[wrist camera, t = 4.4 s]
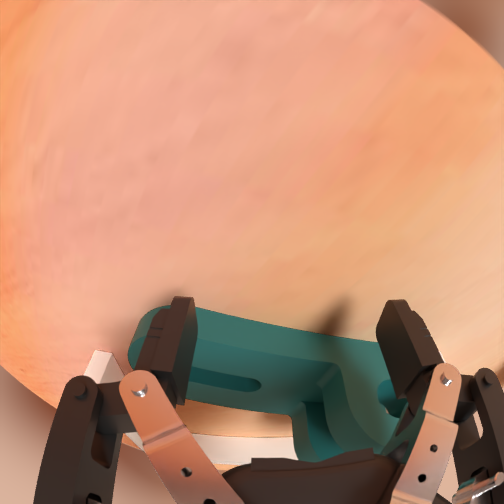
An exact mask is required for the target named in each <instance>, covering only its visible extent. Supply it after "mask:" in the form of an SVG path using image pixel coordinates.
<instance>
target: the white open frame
mask: <svg viewBox="0 0 504 504" xmlns="http://www.w3.org/2000/svg"><path fill="white" fill-rule="evenodd" d="M439 353H440V355H441V357H442V359H443V361H444V363H446V362H445V360H444V358H443V356H442V354H441V352H440V351H439ZM84 376H88V377H90V378H92V379H93V380H94V381H95V382H96V384H100V383H111V382H118V381H121V380H122V379H123V377H124V374H123V372H122V371H121V369H120V367H119V365H118V363H117V362H116V360H115V358H114V356H113V354H112V353H109V352H103V351H98V350H95V351H94V354H93V356H92V358H91V360H90V362H89V364H88V367H87V369H86V371H85V374H84ZM386 412H387V413H388V411H387V409H386ZM388 414H389V413H388ZM125 434H126V435H127V436H128V437H129V438H130V439H131V440H132V441H133V442H134V443H135V444H136V445H137V446H138V447H139V448H140V449H141V450H142V451H143V452H145V450H144V448H143V445H142V444H143V442H142V440H141V438H140V436H139V434H138V432H131V433H125ZM191 434H192V436H193V437H194V439H195V440H196V442H197V443H198V444H199V446H200V447H201V449H202V450H203V451H204V453H205V454H206V456H207V457H208V458H209V460H210V461H211V462H212V463H216V464H230V465H244V464H249V463H251V458H288V459H294V460H298V458H297V456H296V453H295V450H294V444H293V437H273V438H256V437H228V436H214V435H203V434H194V433H191ZM145 453H146V452H145Z"/></svg>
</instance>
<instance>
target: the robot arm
mask: <svg viewBox="0 0 504 504" xmlns="http://www.w3.org/2000/svg"><path fill="white" fill-rule="evenodd" d="M430 335H431V334H430V332H429V331H428V329H427V327H426V325H425V323H424V321H423V319H422V318H421V317H420V316H419V315H418V314H417V313H416V312H415V311H411V309H410V307H409V305H408V303H407V302H406V301H405V300H388V301H387V302H386V304H385V307H384V309H383V312H382V314H381V317H380V319H379V321H378V324H377V327H376V338H377V341H378V344H379V347H380V349H381V352H382V355H383V358H384V361H385V364H386V367H387V370H388V373H389V376H390V379H391V382H392V385H393V388H394V391H395V395H396V398H397V399H402V398H407V401H408V402H407V403H406V405H405V407H404V409H403V411H402V414H401V416H400V419H399V421H398V423H397V426H396V428H395V430H394V432H393V434H392V436H391V438H390V440H389V442H388V443H387V445H386V446H385V447H384V448H383V450H382V451H381V453H380V454H374V452H373V447H372V448H366V449H361V450H355V451H349V452H344V453H342V454H339V455H336V456H334V457H331V458H328V459H325V460H323V461H320V462H307V461H300V460H294V459H288V458H251V463H249V464H244V465H241V466H237V467H235V468H232V469H230V470H228V471H226V472H225V473H223V474H222V475H221V474H220V473H219V472H218V470H217V469H216V468H215V466H214V465H213V464H212V462H211V461H210V460H209V458H208V457H207V456H206V454H205V453H204V451H203V450H202V449H201V447H200V446H199V444H198V443H197V442H196V440H195V439H194V437H193V436H192V434H191V433H190V431H189V430H188V428H187V427H186V426H185V425H184V424H183V422H182V421H181V419H180V418H179V416H178V414H177V413H176V411H175V408H176V404H178V405H184V404H185V398H186V393H187V387H188V382H189V377H190V372H191V367H192V362H193V357H194V352H195V347H196V342H197V336H198V323H197V316H196V310H195V303H194V298H193V297H178V296H175V297H174V298H173V301H172V304H171V307H170V309H165V308H161V309H160V310H159V311H158V312H157V314H156V315H155V316H154V317H153V319H152V322H151V324H150V328H149V330H148V332H147V335H146V338H145V340H144V343H143V346H142V349H141V351H140V354H139V357H138V360H137V363H136V366H135V368H134V370H133V371H132V372H130V373H128V374H127V375H125V376H124V377H123V379H122V380H121V381H118V382H111V383H100V384H96V382H95V381H94V380H93V379H92V378H90V377H88V376H83V375H82V376H76V377H74V378H72V379H71V380H70V381H69V382H68V383H67V384H66V386H65V388H64V391H63V394H62V397H61V399H60V402H59V405H58V408H57V411H56V414H55V417H54V420H53V423H52V427H51V430H50V433H49V437H48V440H47V444H46V447H45V451H44V455H43V459H42V463H41V467H40V472H39V476H38V481H37V485H36V491H35V496H34V502H33V504H112V497H113V489H114V483H115V476H116V470H117V462H118V457H119V452H120V446H121V441H122V436H123V433H131V432H138V434H139V436H140V438H141V440H142V442H143V444H142V445H143V448H144V450H145V452H146V454H147V456H148V458H149V460H150V462H151V463H152V465H153V467H154V468H155V470H156V472H157V473H158V475H159V477H160V478H161V480H162V482H163V483H164V485H165V487H166V488H167V489H168V491H169V493H170V494H171V496H172V497H173V499H174V500H175V502H176V503H177V504H452V503H453V504H504V393H503V390H502V387H501V385H500V383H499V380H498V378H497V376H496V374H495V373H494V372H493V371H492V370H490V369H488V368H481V369H479V370H478V372H477V373H476V374H475V375H474V376H471V375H462V374H460V373H459V371H458V370H457V369H456V368H455V367H454V366H453V365H451V364H448V363H444V361H443V359H442V357H441V355H440V353H439V350H438V348H437V346H436V344H435V342H434V340H433V338H432V337H431V336H430ZM476 411H478V414H479V417H480V420H481V424H482V427H483V435H482V437H481V438H480V437H479V433H478V430H477V426H476V423H475V420H474V416H473V414H474V413H475V412H476ZM451 452H452V453H453V457H454V462H455V467H456V472H457V478H458V484H459V488H458V490H457V493H456V494H454V495H453V497H452V503H450V502H449V501H448V500H446V499H445V498H444V497H442V496H441V495H439V494H438V493H437V490H438V488H439V485H440V483H441V481H442V478H443V475H444V473H445V470H446V467H447V464H448V461H449V458H450V455H451Z"/></svg>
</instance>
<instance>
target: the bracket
mask: <svg viewBox="0 0 504 504" xmlns="http://www.w3.org/2000/svg"><path fill="white" fill-rule="evenodd" d="M170 307H171V305H168V306H162V307H159V308H156V309H153V310H151V311H150V312H148V313H147V314H145V315H144V316H143V318H142V319H141V321H140V322H139V325H138V327H137V330H136V332H135V335H134V337H133V340H132V342H131V345H130V347H129V350H128V360H129V363H130V365H131V367H132V369H133V370H134V368H135V366H136V363H137V360H138V357H139V354H140V351H141V349H142V346H143V343H144V340H145V338H146V335H147V332H148V330H149V328H150V324H151V322H152V319H153V317H154V316H155V315H156V314H157V312H158V311H159V310H160V309H161V308H165V309H170ZM195 310H196V316H197V323H198V336H197V342H196V347H195V352H194V357H193V362H192V367H191V372H190V377H189V382H188V387H187V393H186V398H185V399H189V400H194V401H199V402H203V403H208V404H213V405H219V406H224V407H230V408H236V409H243V410H250V411H257V412H266V413H275V414H285V415H289V416H290V417H291V418H292V428H293V444H294V450H295V453H296V456H297V458H298V460H300V461H307V462H320V461H323V460H325V459H328V458H331V457H334V456H336V455H339V454H342V453H344V452H349V451H355V450H361V449H366V448H372V447H373V452H374V454H380V453H381V451H382V450H383V448H384V447H385V446H386V445H387V443H388V442H389V440H390V438H391V436H392V434H393V432H394V430H395V428H396V426H397V423H398V421H399V419H400V416H401V414H402V411H403V409H404V407H405V405H406V403H407V402H408V401H407V398H402V399H397V398H396V395H395V391H394V388H393V385H392V382H391V379H390V376H389V373H388V370H387V367H386V364H385V361H384V358H383V355H382V352H381V349H380V347H379V344H378V342H370V341H363V340H356V339H350V338H343V337H337V336H331V335H325V334H319V333H313V332H308V331H302V330H297V329H292V328H287V327H282V326H277V325H272V324H267V323H262V322H257V321H253V320H248V319H244V318H239V317H235V316H231V315H226V314H222V313H218V312H214V311H210V310H206V309H202V308H198V307H195ZM386 409H387V411H388V413H389V414H388V413H387V412H386Z"/></svg>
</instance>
